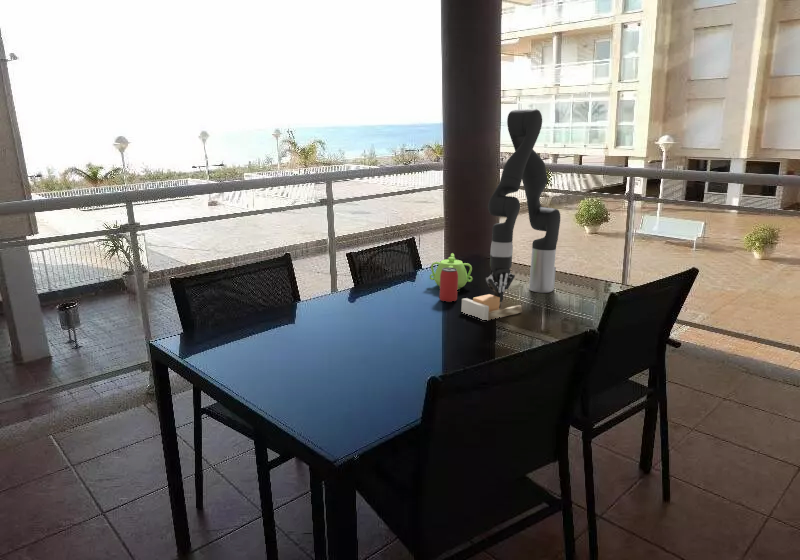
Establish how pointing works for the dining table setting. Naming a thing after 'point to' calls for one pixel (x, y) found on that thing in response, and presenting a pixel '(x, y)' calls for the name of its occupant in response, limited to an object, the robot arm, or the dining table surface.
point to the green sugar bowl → (452, 264)
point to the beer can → (448, 284)
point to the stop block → (475, 309)
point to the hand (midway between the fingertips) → (498, 301)
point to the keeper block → (489, 301)
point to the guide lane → (504, 312)
